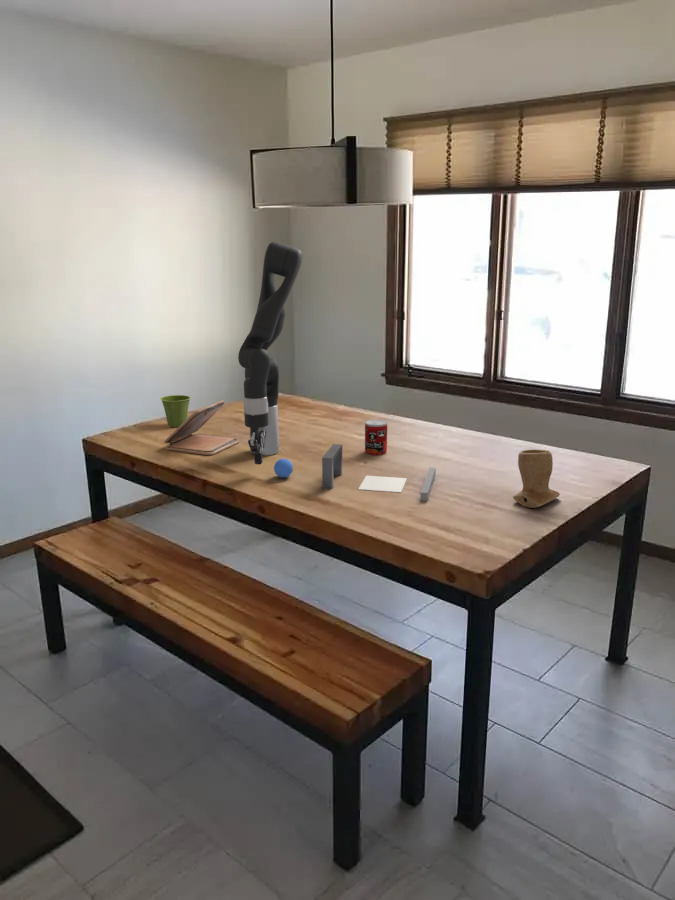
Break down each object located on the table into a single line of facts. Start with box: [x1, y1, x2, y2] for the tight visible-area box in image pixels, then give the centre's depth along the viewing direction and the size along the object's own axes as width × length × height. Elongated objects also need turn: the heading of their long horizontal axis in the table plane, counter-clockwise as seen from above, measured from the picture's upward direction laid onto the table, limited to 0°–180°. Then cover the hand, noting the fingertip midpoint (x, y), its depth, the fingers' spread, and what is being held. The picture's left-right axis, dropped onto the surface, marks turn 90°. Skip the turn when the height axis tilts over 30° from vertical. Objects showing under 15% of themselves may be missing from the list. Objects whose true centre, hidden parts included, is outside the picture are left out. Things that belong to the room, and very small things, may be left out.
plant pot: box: [160, 394, 192, 428], centre depth 301 cm, size 12×12×11 cm
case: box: [163, 399, 240, 456], centre depth 273 cm, size 20×21×16 cm
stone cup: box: [512, 448, 561, 509], centre depth 218 cm, size 15×12×15 cm
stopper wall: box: [420, 467, 437, 502], centre depth 231 cm, size 2×24×2 cm, turn 167°
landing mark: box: [358, 475, 407, 494], centre depth 234 cm, size 13×13×1 cm
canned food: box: [364, 419, 388, 456], centre depth 265 cm, size 8×8×11 cm
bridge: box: [321, 443, 343, 490], centre depth 236 cm, size 3×15×10 cm, turn 167°
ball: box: [273, 458, 294, 479], centre depth 240 cm, size 6×6×6 cm
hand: (258, 463), depth 241 cm, fingers closed
